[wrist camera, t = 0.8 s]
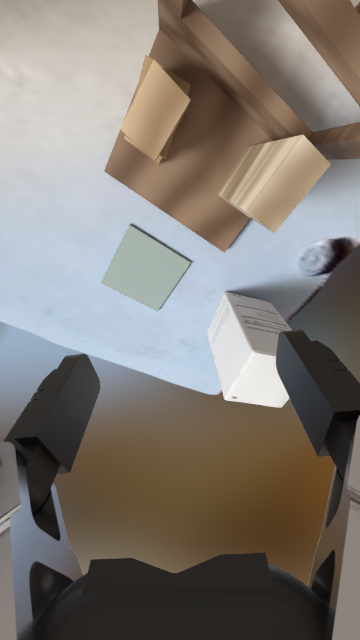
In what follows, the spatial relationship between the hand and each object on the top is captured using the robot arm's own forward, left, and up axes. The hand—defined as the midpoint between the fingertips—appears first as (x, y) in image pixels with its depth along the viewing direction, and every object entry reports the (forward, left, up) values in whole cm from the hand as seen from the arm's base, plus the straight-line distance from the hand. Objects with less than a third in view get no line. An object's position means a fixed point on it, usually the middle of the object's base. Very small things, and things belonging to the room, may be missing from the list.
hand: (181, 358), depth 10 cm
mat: (0, -8, -26) cm, 27 cm away
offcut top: (-7, +8, -20) cm, 23 cm away
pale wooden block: (+4, +9, -25) cm, 27 cm away
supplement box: (+18, -7, -26) cm, 33 cm away
